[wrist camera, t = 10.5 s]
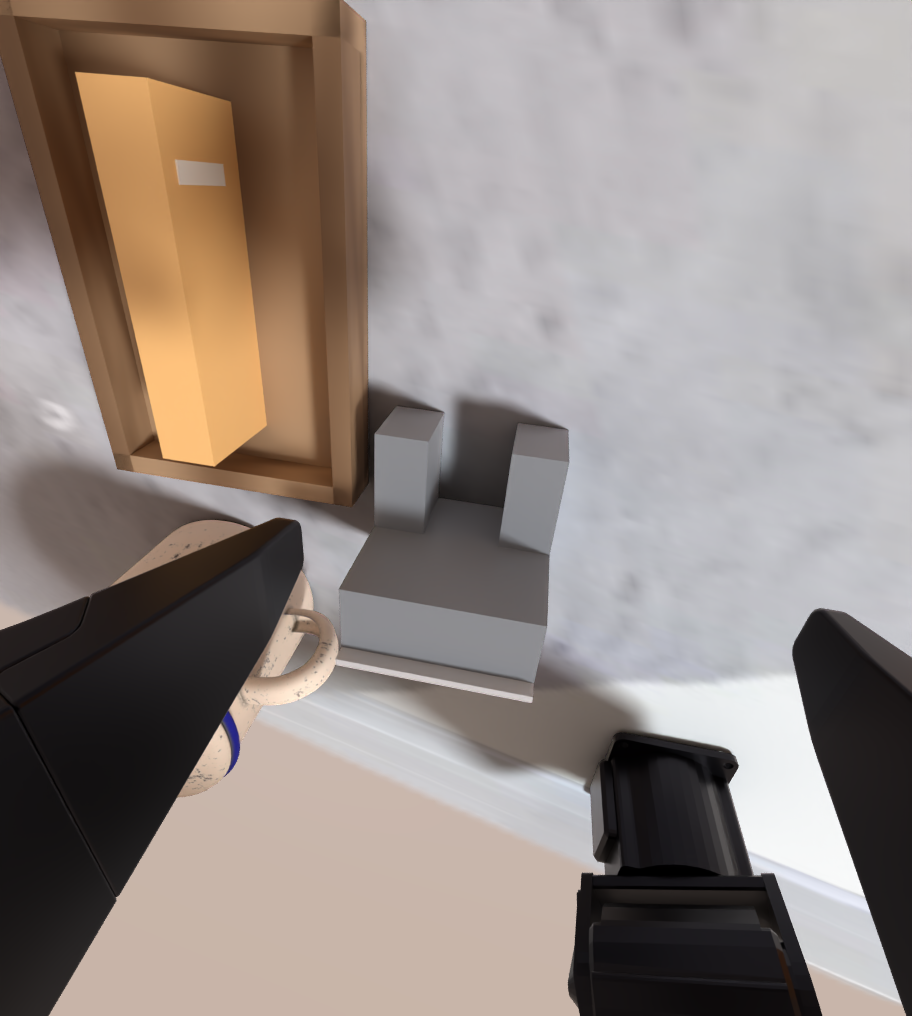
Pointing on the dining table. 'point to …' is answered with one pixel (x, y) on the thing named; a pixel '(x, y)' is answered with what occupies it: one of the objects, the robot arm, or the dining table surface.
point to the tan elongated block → (180, 257)
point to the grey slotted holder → (453, 565)
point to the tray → (266, 208)
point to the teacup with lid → (265, 675)
